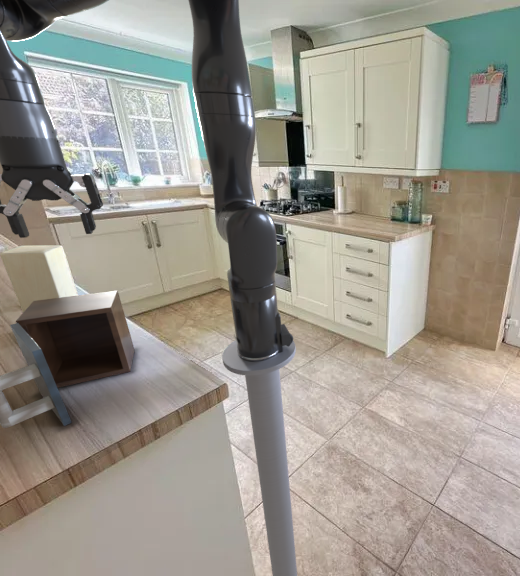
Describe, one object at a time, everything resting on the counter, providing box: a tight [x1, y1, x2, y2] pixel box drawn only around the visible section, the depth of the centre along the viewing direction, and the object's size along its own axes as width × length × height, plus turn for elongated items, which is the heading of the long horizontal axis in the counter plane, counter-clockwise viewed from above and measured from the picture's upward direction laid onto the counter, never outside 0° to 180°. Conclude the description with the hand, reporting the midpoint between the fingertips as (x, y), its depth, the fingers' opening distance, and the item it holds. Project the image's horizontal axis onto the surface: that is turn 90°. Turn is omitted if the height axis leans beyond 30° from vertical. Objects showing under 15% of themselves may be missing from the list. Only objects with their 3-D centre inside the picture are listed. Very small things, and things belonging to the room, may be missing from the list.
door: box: [0, 322, 72, 429], centre depth 53 cm, size 7×13×15 cm, turn 56°
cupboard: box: [15, 290, 136, 389], centre depth 66 cm, size 9×13×15 cm
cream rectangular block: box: [0, 244, 79, 313], centre depth 77 cm, size 8×7×21 cm
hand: (58, 234), depth 58 cm, fingers open, 8 cm apart
